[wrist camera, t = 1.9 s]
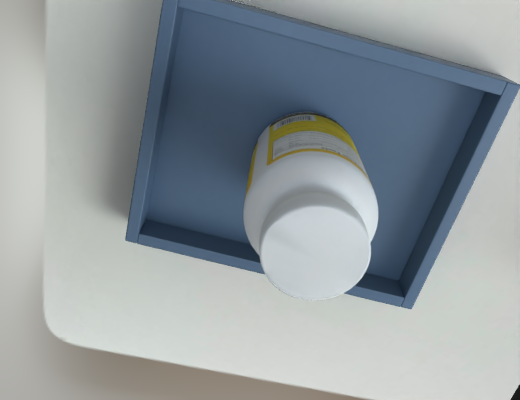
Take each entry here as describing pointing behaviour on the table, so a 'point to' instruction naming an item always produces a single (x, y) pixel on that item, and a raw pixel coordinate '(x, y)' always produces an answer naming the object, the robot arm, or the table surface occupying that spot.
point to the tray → (306, 100)
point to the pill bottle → (310, 207)
